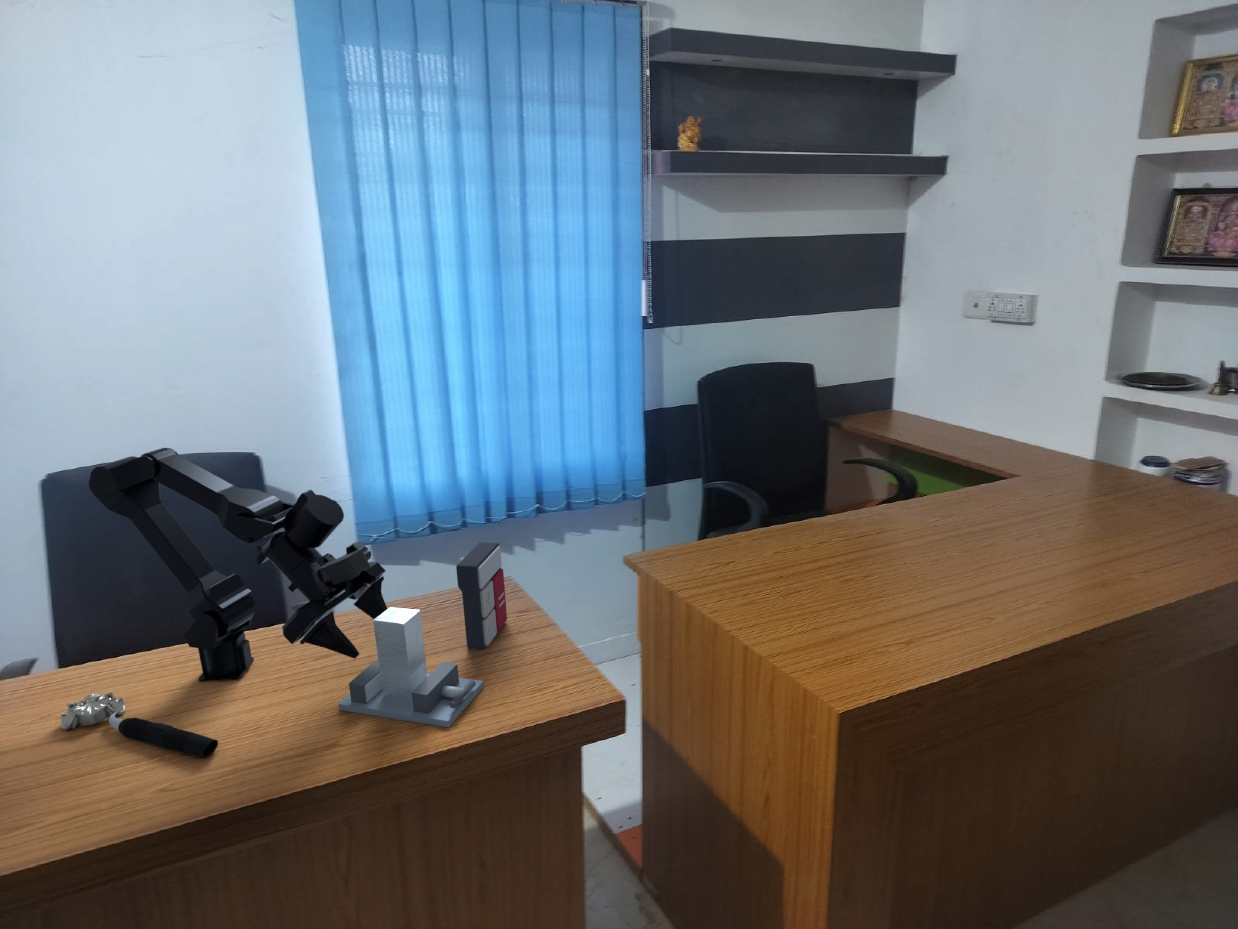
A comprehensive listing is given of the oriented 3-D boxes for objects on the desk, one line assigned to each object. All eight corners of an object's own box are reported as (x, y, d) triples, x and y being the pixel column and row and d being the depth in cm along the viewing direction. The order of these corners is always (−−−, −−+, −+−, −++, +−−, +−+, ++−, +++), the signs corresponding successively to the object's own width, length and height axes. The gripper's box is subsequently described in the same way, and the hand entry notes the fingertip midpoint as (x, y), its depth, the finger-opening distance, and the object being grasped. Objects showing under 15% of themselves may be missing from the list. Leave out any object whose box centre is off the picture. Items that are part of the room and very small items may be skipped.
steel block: (412, 701, 121) (403, 623, 117) (382, 697, 122) (373, 620, 119) (428, 685, 125) (420, 610, 121) (399, 681, 126) (390, 606, 123)
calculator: (488, 651, 137) (480, 567, 133) (463, 649, 138) (455, 565, 134) (509, 621, 147) (503, 542, 143) (486, 619, 148) (479, 541, 144)
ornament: (124, 700, 126) (120, 679, 125) (126, 721, 121) (121, 699, 120) (63, 717, 122) (57, 695, 121) (62, 739, 117) (56, 716, 116)
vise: (338, 709, 121) (335, 685, 120) (381, 672, 131) (378, 649, 130) (449, 727, 116) (446, 702, 115) (484, 687, 126) (482, 663, 125)
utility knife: (94, 734, 118) (90, 715, 117) (120, 719, 121) (116, 701, 121) (206, 765, 110) (202, 745, 109) (230, 748, 113) (226, 729, 112)
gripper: (288, 556, 111) (368, 640, 111) (368, 512, 128) (437, 584, 128) (249, 603, 116) (325, 684, 115) (331, 554, 133) (398, 625, 132)
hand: (375, 641), depth 123 cm, fingers open, 9 cm apart
